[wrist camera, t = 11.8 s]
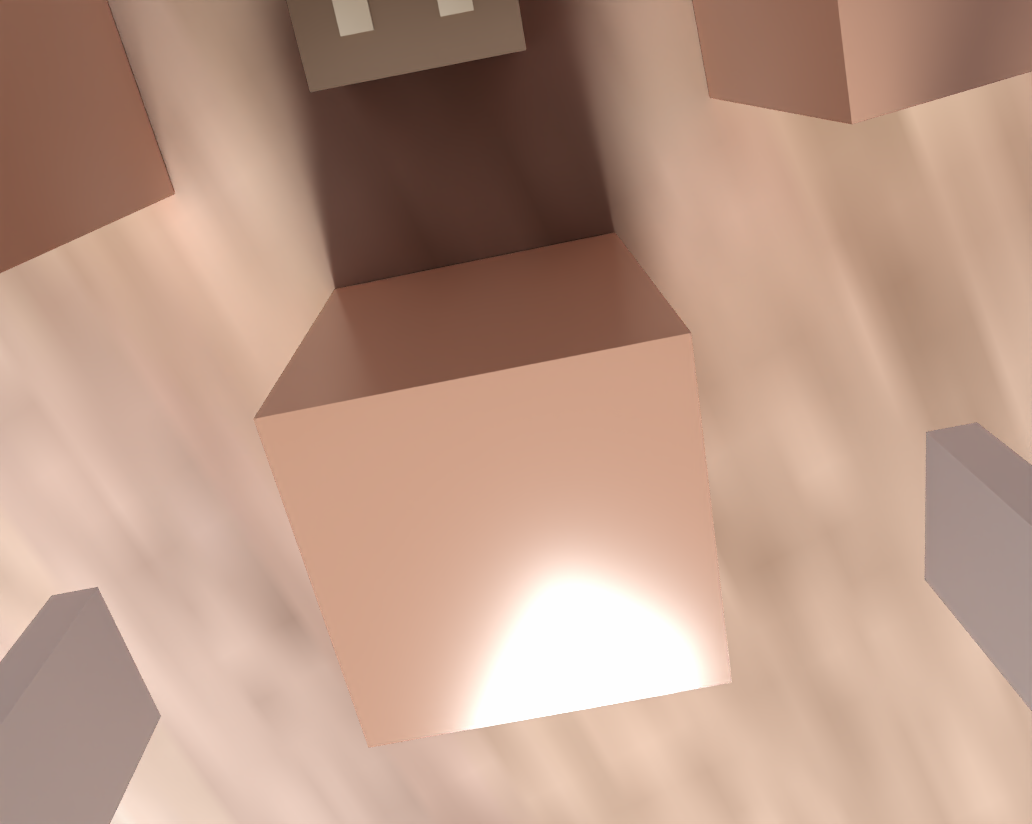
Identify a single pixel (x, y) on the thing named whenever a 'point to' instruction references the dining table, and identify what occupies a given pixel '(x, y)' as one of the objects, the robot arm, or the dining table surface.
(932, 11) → the peach colored cube
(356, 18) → the letter cube
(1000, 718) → the dining table surface
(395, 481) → the cover mid
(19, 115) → the salmon pink box
